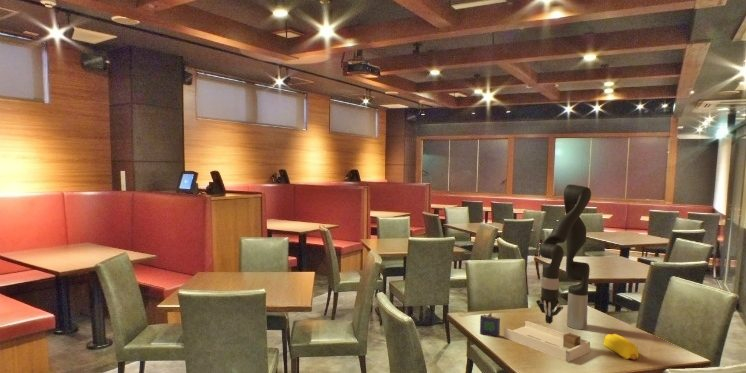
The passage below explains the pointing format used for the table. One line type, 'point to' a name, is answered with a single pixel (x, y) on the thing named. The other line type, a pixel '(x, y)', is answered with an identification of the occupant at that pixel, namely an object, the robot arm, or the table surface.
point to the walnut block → (571, 340)
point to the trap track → (546, 341)
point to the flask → (489, 325)
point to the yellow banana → (621, 346)
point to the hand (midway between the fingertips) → (548, 322)
